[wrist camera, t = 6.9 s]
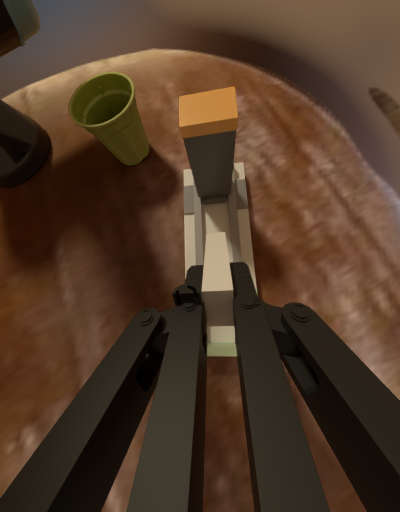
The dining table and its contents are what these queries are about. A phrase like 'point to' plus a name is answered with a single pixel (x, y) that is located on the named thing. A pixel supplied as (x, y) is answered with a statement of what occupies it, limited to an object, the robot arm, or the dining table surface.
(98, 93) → the plant pot
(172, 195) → the dining table surface
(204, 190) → the handle
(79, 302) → the dining table surface
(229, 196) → the board
